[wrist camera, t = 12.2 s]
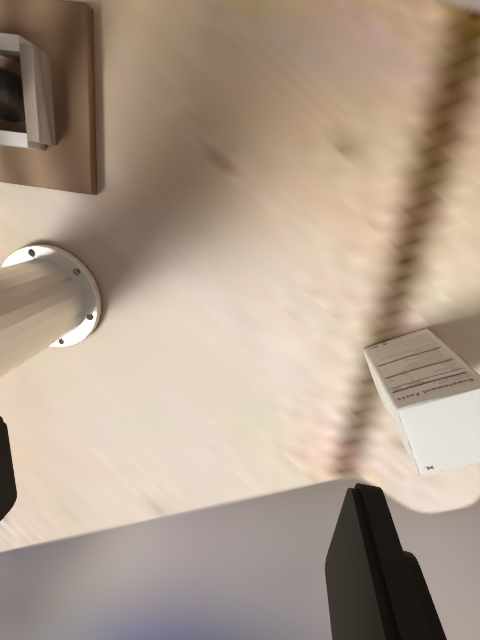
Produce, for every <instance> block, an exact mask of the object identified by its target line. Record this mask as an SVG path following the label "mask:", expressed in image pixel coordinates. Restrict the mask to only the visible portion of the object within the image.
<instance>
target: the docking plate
mask: <svg viewBox="0 0 480 640" xmlns="http://www.w3.org/2000/svg"><path fill="white" fill-rule="evenodd" d="M0 66H1V67H3V68H5V69H7V70H10V71H12V72H14V73H16V74H18V75H19V76H20V77H21V78H22V85H23V96H24V108H25V120H24V121H22V122H20V123H11V122H8V121H4V120H0V182H4V183H12V184H19V185H26V186H33V187H40V188H48V189H55V190H62V191H69V192H77V193H84V194H91V195H97V177H96V134H95V91H94V48H93V10H92V9H91V8H90V7H89V6H88V5H87V4H86V3H80V2H70V1H60V0H0Z"/></svg>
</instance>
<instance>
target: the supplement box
mask: <svg viewBox="0 0 480 640" xmlns="http://www.w3.org/2000/svg"><path fill="white" fill-rule="evenodd" d="M363 350H364V354H365V357H366V360H367V363H368V366H369V369H370V371H371V374H372V377H373V380H374V382H375V385H376V388H377V390H378V393H379V395H380V398H381V400H382V402H383V404H384V406H385V408H386V410H387V412H388V414H389V416H390V418H391V420H392V422H393V424H394V426H395V428H396V430H397V432H398V434H399V436H400V438H401V440H402V442H403V444H404V446H405V448H406V450H407V452H408V454H409V456H410V458H411V460H412V462H413V464H414V466H415V468H416V470H417V472H418V474H419V476H423V475H429V474H434V473H439V472H443V471H447V470H452V469H456V468H460V467H465V466H469V465H473V464H478V463H480V375H479V374H478V373H477V372H476V371H475V370H473V369H472V368H471V367H470V366H469V365H468V364H467V363H466V362H465V361H463V360H462V359H461V358H460V357H459V356H458V355H457V354H456V353H455V352H454V351H452V350H451V349H450V348H449V347H448V346H447V345H446V344H445V343H443V342H442V341H441V340H440V339H439V338H438V337H437V336H436V335H434V334H433V333H432V332H431V331H430V330H429V329H427V328H426V329H422V330H419V331H416V332H413V333H410V334H407V335H404V336H401V337H397V338H394V339H391V340H388V341H385V342H382V343H379V344H376V345H373V346H370V347H367V348H364V349H363Z"/></svg>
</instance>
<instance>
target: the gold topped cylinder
mask: <svg viewBox="0 0 480 640" xmlns="http://www.w3.org/2000/svg"><path fill="white" fill-rule="evenodd" d="M0 120H4V121H8V122H11V123H20V122H22V121H24V120H25V108H24V96H23V85H22V78H21V77H20V76H19V75H18V74H16V73H14V72H12V71H10V70H7V69H5V68H3V67H1V66H0Z"/></svg>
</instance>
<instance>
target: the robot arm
mask: <svg viewBox="0 0 480 640" xmlns="http://www.w3.org/2000/svg"><path fill="white" fill-rule="evenodd" d="M79 270H80V271H79ZM100 315H101V297H100V292H99V289H98V286H97V284H96V281H95V280H94V278H93V276H92V274H91V273H90V271H89V270H88V269H87V268H86V266H85V265H84V264H83V263H82V262H81V261H80V260H78V259H77V258H76V257H75V256H73V255H72V254H70V253H69V252H67V251H65V250H63V249H60V248H58V247H55V246H50V245H39V244H37V245H31V246H26V247H23V248H20V249H18V250H16V251H15V252H13V253H11V254H10V255H9V256H8V257H7V259H6V260H5V261H4V263H3V265H2V266H1V268H0V377H2V376H3V375H5V374H6V373H8V372H10V371H11V370H13V369H14V368H16V367H17V366H19V365H20V364H22V363H24V362H25V361H27V360H28V359H30V358H31V357H33V356H35V355H36V354H38V353H39V352H41V351H42V350H44V349H45V348H47V347H49V346H53V347H65V346H71V345H74V344H77V343H79V342H80V341H82V340H83V339H85V338H86V337H87V336H89V335H90V334H91V333H92V332H93V330H94V329H95V328H96V326H97V324H98V322H99V319H100ZM16 498H17V491H16V484H15V477H14V470H13V464H12V457H11V450H10V443H9V436H8V430H7V425H6V423H4V422H3V419H2V417H1V416H0V521H1V520H2V519H3V518H4V517H5V515H6V514H7V513H8V512H9V511H10V510H11V508H12V507H13V505H14V503H15V501H16ZM325 576H326V584H327V594H328V603H329V612H330V620H331V631H332V639H333V640H447V639H446V636H445V633H444V631H443V628H442V625H441V622H440V620H439V617H438V614H437V612H436V609H435V606H434V604H433V601H432V598H431V595H430V593H429V590H428V587H427V584H426V582H425V579H424V576H423V574H422V571H421V568H420V566H419V563H418V561H417V559H416V557H415V556H414V555H413V554H412V553H410V552H407V551H403V549H402V546H401V544H400V541H399V538H398V535H397V532H396V529H395V526H394V523H393V520H392V517H391V514H390V511H389V508H388V505H387V502H386V499H385V496H384V493H383V491H382V489H381V488H380V487H375V486H370V485H365V484H360V483H357V484H356V485H355V488H354V489H353V488H348V490H347V492H346V496H345V499H344V502H343V505H342V508H341V512H340V515H339V518H338V521H337V525H336V528H335V531H334V534H333V537H332V541H331V544H330V547H329V550H328V554H327V557H326V563H325Z"/></svg>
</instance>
